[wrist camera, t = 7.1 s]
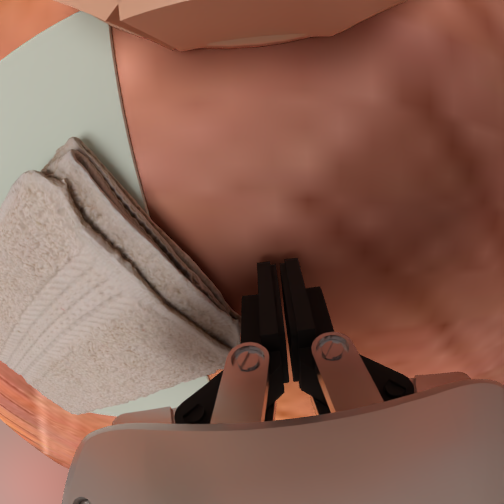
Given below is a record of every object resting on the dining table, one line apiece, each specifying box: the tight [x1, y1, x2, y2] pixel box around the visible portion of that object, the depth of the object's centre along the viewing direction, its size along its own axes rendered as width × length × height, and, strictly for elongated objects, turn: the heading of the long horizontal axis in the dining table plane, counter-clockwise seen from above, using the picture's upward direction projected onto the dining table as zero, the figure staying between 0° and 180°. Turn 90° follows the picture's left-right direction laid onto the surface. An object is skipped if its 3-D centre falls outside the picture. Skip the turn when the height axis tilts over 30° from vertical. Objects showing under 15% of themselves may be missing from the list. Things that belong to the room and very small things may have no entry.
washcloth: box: [0, 137, 241, 415], centre depth 12 cm, size 12×18×3 cm, turn 127°
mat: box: [0, 11, 210, 417], centre depth 13 cm, size 26×16×1 cm, turn 7°
